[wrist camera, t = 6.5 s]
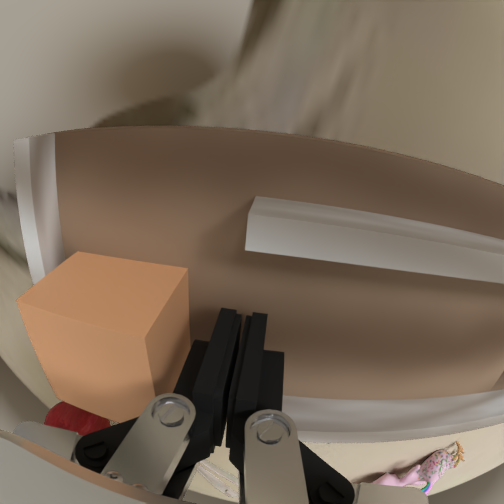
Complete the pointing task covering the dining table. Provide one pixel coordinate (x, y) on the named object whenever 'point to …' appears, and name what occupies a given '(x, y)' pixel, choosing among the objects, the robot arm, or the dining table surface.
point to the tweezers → (217, 482)
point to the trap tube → (299, 261)
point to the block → (109, 331)
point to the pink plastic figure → (424, 470)
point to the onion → (75, 419)
